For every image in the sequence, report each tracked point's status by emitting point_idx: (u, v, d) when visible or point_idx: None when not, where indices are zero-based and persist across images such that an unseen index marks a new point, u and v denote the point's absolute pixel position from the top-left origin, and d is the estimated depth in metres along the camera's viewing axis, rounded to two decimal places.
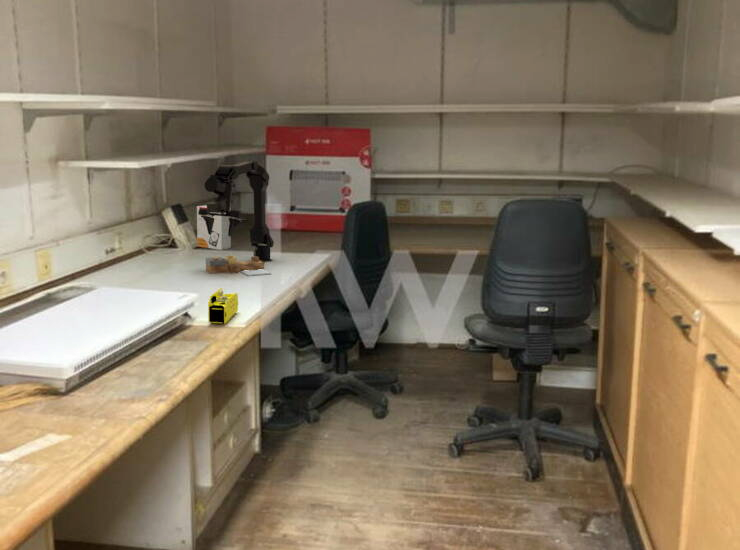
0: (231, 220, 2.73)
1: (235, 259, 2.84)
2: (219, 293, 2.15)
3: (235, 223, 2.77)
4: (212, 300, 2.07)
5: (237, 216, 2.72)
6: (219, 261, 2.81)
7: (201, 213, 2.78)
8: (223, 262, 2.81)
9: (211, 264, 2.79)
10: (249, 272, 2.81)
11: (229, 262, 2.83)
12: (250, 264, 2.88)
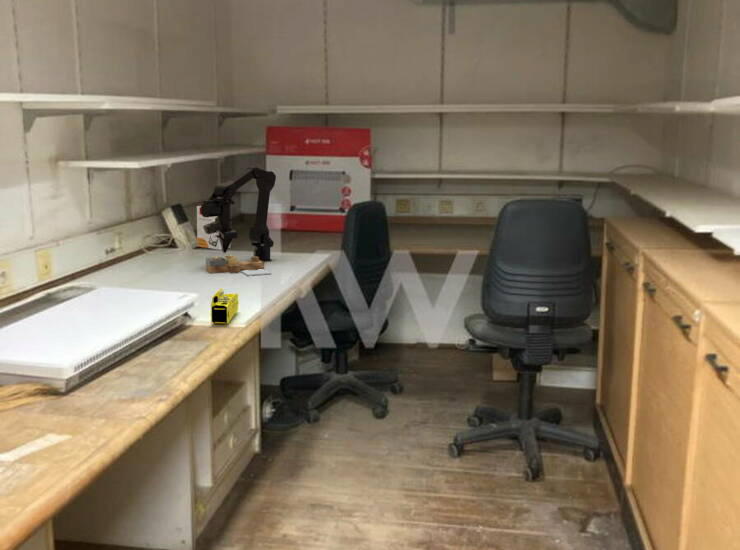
0: (220, 239, 2.89)
1: (235, 259, 2.84)
2: (220, 293, 2.15)
3: (228, 240, 2.91)
4: (214, 300, 2.07)
5: (224, 237, 2.82)
6: (219, 261, 2.81)
7: (211, 232, 2.96)
8: (223, 262, 2.81)
9: (211, 264, 2.79)
10: (249, 272, 2.81)
11: (229, 262, 2.83)
12: (250, 264, 2.88)
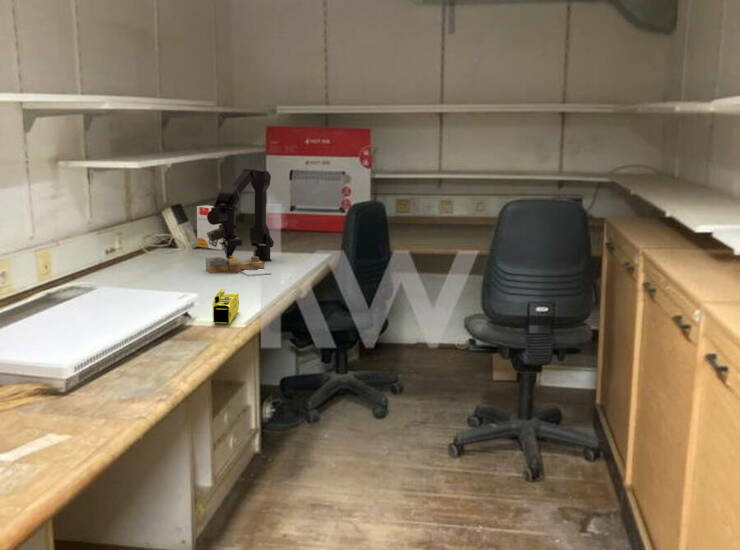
0: (224, 246, 2.85)
1: (236, 259, 2.83)
2: (221, 293, 2.15)
3: (232, 247, 2.86)
4: (216, 300, 2.07)
5: (228, 244, 2.78)
6: (219, 261, 2.81)
7: (215, 239, 2.92)
8: (223, 262, 2.81)
9: (211, 264, 2.79)
10: (249, 272, 2.81)
11: (230, 262, 2.82)
12: (250, 264, 2.88)
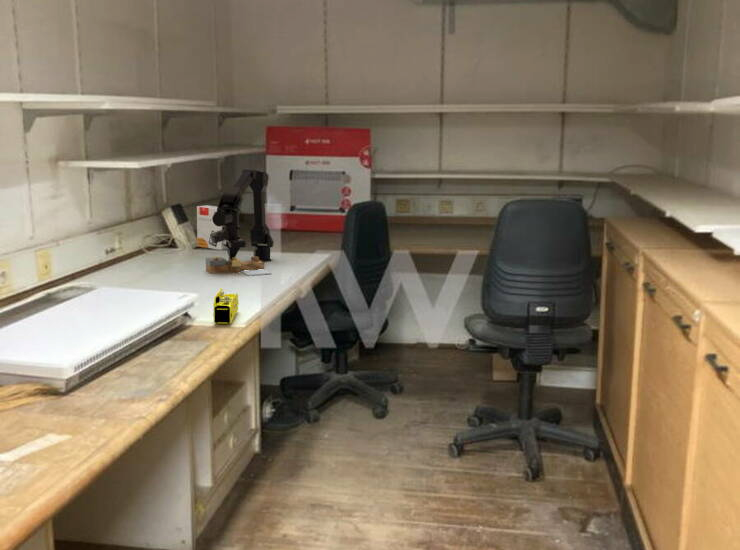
0: (227, 247, 2.81)
1: (239, 261, 2.80)
2: (221, 293, 2.15)
3: (235, 249, 2.83)
4: (216, 300, 2.07)
5: (231, 246, 2.74)
6: (219, 261, 2.81)
7: (218, 240, 2.88)
8: (223, 262, 2.81)
9: (211, 264, 2.79)
10: (249, 272, 2.81)
11: (233, 264, 2.79)
12: (250, 264, 2.88)
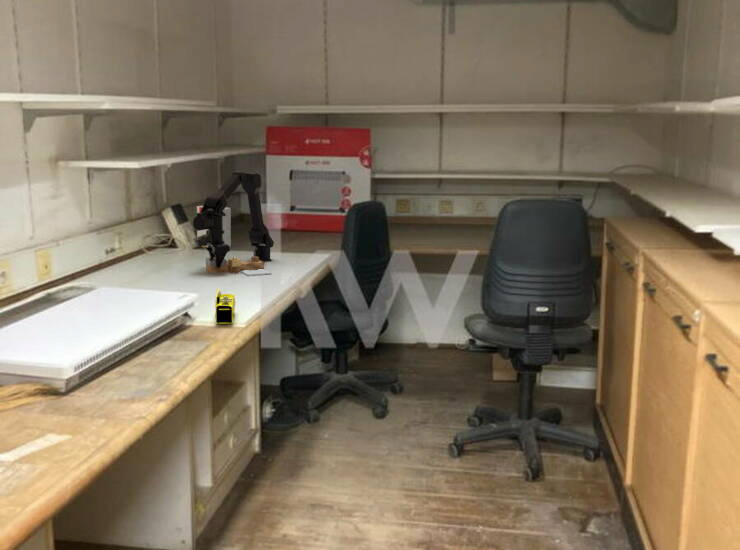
0: (213, 253, 2.77)
1: (239, 261, 2.80)
2: (219, 294, 2.14)
3: (222, 254, 2.79)
4: (218, 301, 2.06)
5: (215, 251, 2.73)
6: None
7: (202, 244, 2.87)
8: (223, 262, 2.81)
9: (211, 264, 2.79)
10: (249, 272, 2.81)
11: (233, 264, 2.79)
12: (250, 264, 2.88)
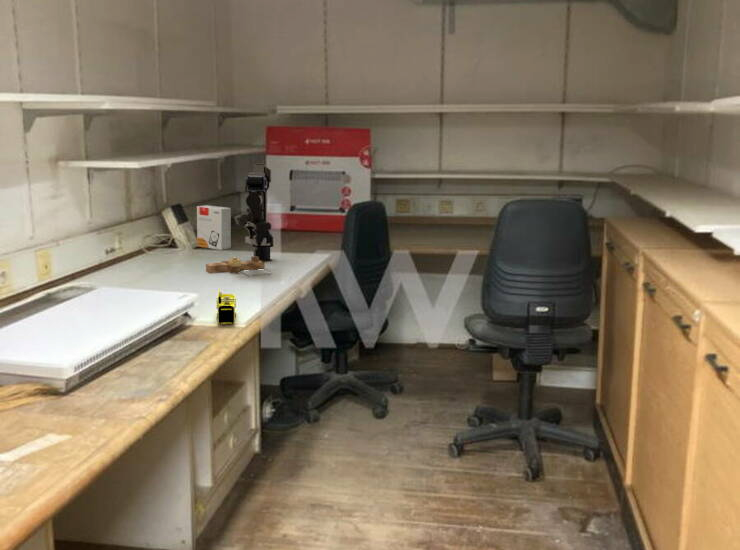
0: (254, 231, 2.74)
1: (239, 261, 2.80)
2: (220, 294, 2.14)
3: (262, 233, 2.75)
4: (219, 301, 2.06)
5: (257, 228, 2.70)
6: None
7: None
8: (263, 241, 2.78)
9: (251, 242, 2.76)
10: (249, 272, 2.81)
11: (233, 264, 2.79)
12: (250, 264, 2.88)
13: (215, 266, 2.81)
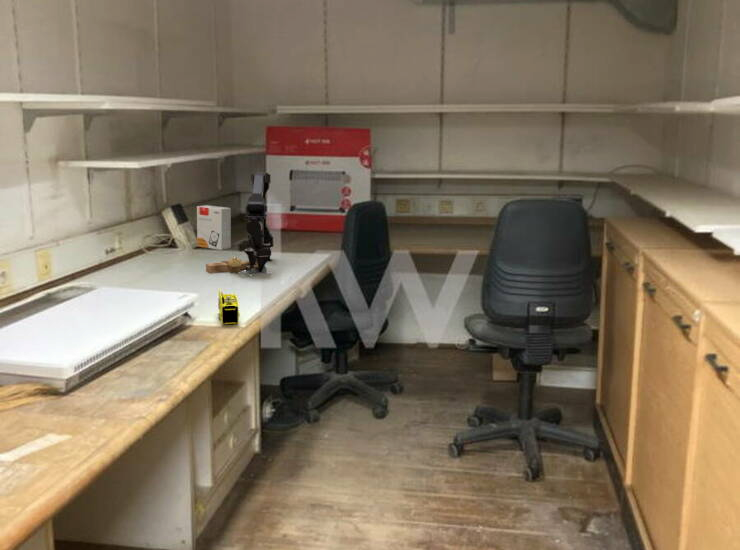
0: (256, 258, 2.75)
1: (239, 261, 2.80)
2: (221, 294, 2.14)
3: (264, 259, 2.76)
4: (223, 301, 2.06)
5: (257, 255, 2.72)
6: None
7: None
8: (263, 270, 2.80)
9: (252, 272, 2.78)
10: None
11: (233, 264, 2.79)
12: None
13: (215, 266, 2.81)
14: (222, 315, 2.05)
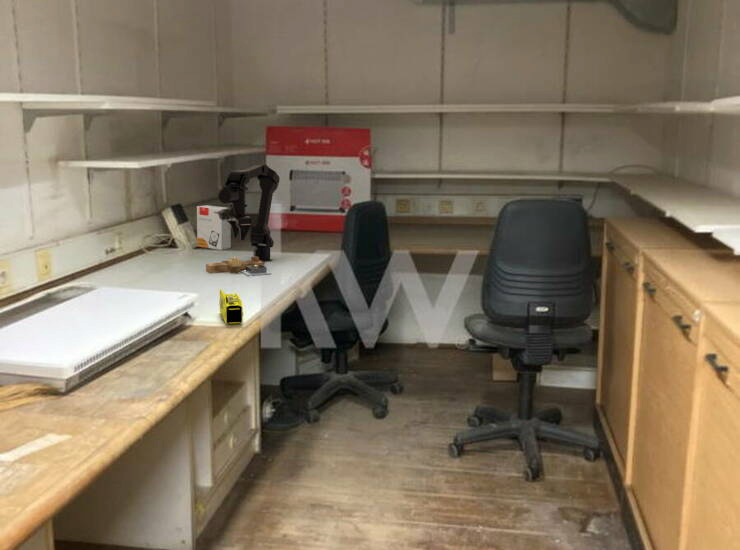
0: (238, 226, 2.85)
1: (239, 261, 2.80)
2: (223, 294, 2.14)
3: (245, 227, 2.87)
4: (226, 301, 2.06)
5: (239, 223, 2.82)
6: (260, 269, 2.80)
7: (225, 218, 2.96)
8: (263, 270, 2.80)
9: (252, 272, 2.78)
10: None
11: (233, 264, 2.79)
12: (250, 264, 2.88)
13: (215, 266, 2.81)
14: (226, 315, 2.05)
